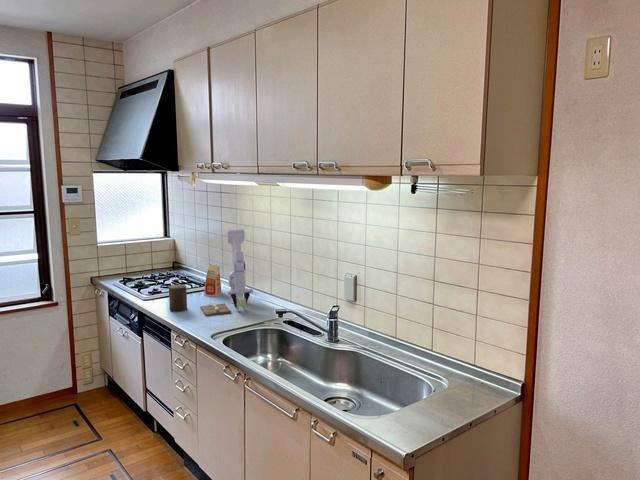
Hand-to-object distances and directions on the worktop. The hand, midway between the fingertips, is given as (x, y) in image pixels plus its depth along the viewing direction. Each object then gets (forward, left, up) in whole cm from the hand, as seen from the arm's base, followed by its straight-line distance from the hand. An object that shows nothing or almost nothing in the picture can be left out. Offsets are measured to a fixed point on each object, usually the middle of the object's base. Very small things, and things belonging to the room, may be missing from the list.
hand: (240, 306), depth 274 cm
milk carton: (-42, -7, -3) cm, 43 cm away
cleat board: (-6, -13, -3) cm, 15 cm away
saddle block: (0, 0, -2) cm, 2 cm away
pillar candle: (-17, -32, -3) cm, 36 cm away
